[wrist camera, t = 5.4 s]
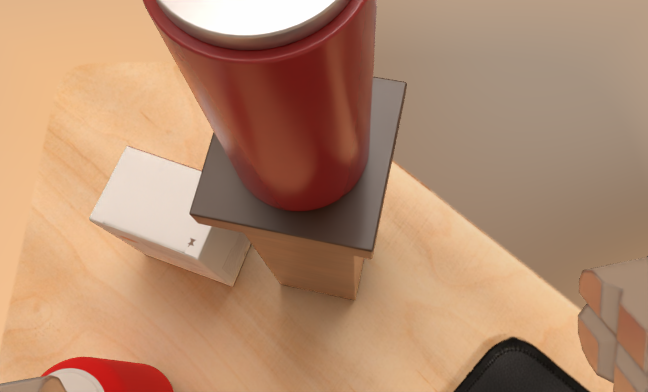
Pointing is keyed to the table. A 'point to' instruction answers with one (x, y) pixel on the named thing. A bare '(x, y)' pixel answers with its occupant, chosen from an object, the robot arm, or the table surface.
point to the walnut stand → (309, 211)
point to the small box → (166, 217)
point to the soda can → (280, 89)
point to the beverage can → (108, 376)
